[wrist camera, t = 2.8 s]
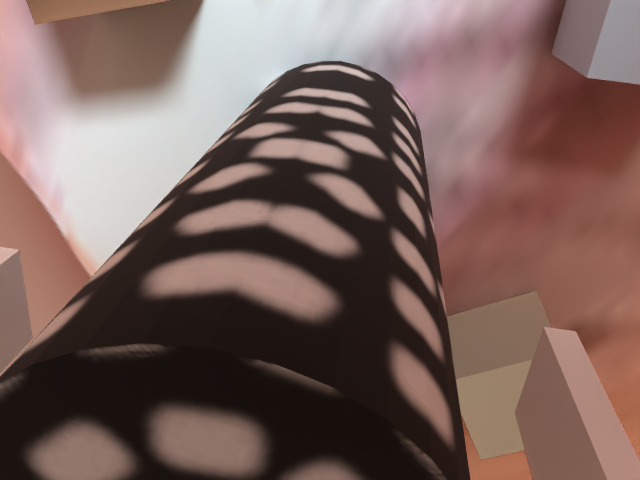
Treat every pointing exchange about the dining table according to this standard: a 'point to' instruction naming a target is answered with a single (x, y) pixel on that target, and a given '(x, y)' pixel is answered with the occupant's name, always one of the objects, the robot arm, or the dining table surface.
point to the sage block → (495, 367)
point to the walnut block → (78, 8)
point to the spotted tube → (260, 313)
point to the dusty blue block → (601, 39)
